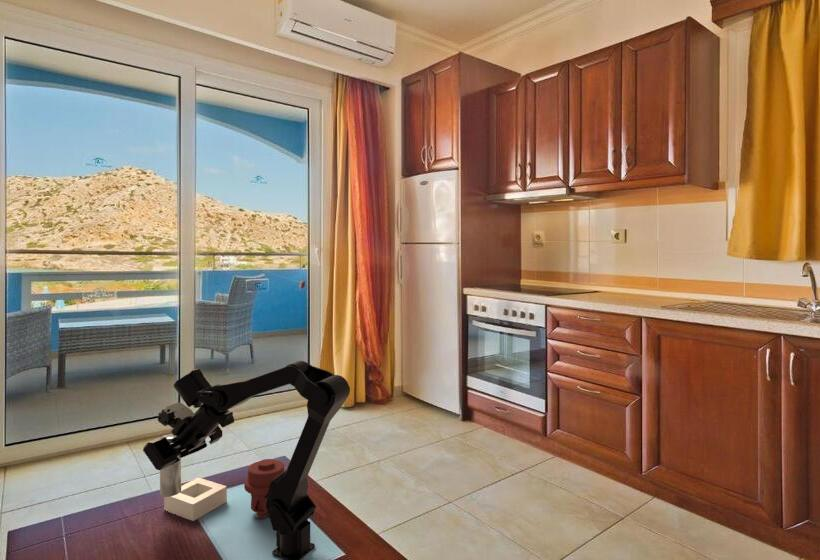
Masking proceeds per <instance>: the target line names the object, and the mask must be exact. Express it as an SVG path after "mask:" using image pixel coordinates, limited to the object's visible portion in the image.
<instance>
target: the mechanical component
mask: <svg viewBox="0 0 820 560" xmlns="http://www.w3.org/2000/svg"><path fill="white" fill-rule="evenodd" d="M283 472H285V463H283V462H282V461H281V460H278V459H271V458H265V459H261V460H258V461H255V462H254V463H251V464H250V465H249V466H248V468H247V477H246V478H245V480H244V482H243V483H244V484H243V485H244V487H243V488H244V490H245V491H246V492H247V493H248V494H250V496H251V498H250V500H251V501H250V509H251V510H252V512H255V513H256V514H257V515H256V516H257V517H256V518H257V519H259V520H262V519H265V517H267V516H269V515H268V511H267V509H266V508H265V503H266V500H267V498H264V496H265V495H267V493H268V491H269V486H270V483H271V481H272V480H274V479H275V478H276V477H278V476H279V475H280V474H282V473H283Z"/></svg>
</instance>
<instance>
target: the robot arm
mask: <svg viewBox="0 0 820 560" xmlns="http://www.w3.org/2000/svg"><path fill="white" fill-rule="evenodd" d="M288 385H291V386H293V388H294V389H295V390H296V391H297V393H298V394H299V395H300V396H301V397H302V398H304V399H305V400H307V402H306V410H307V418H306V421H305V423H304V426H303V428H302V430H301V433H300V436H299V438H298V440H297V443H296V445H295V448H294V451H293V453H292V455H291V458H290V461H289V463H288V466H287V468H286V469H285V470H284V472H283V473H282V474H280V475H279V476H278V477H276V478H275V479H274V480H272V481H271V483H270V486H269V491H268V493H267V495H265V496H264V498H267V500H266V503H265V508H266V509H267V511H268V515H267V516H268V518H269V520H270V525H271V528H272V530H273V531H275V532H276V535H275V536H276V537H275V539H276V542H275V545H276V548H274V549H273V550H272V551H271V553H272V556H276V557H278V558H281V559H283V560H302V559H303V558H304V557H305V556H307V554H309V553H310V552H311V551H312V550H313V549H314V548H315V547H316V544H315V543H313V542H311V521H309V519H310V518H311V517H312V516H314V514H315V512H316V509H317V505H316V504H315V502H314V501H313V500H312V499H311V497H310V496H309V494H308V490H309V482H308V476H309V473H310V471H311V469H312V466H313V464H314V461H315V459H316V457H317V454H318V452H319V449H320V447H321V445H322V442H323V439H324V437H325V434H326V432H327V429H328V428H329V424H330V422H331V421H332V420H333V418H334V417H335V415H336V414H337V413H338V412H339V411H340V409H341V408H342V406H343V405H344V404H345V402H346V400H347V399H348V398H349V395H350V394H351V393H350V392H351V386H350V385H349V383H348V380H346V378H344V376H342V375H340V374H334V373H332V372H330V371H328V370H327V369H323V368H320V367H317V366H313V365H312V364H310V363H308V362H306V361H304V360H298V361H295V362H292V363H288V364H287V365H285V366H284V367H281V368H278V369H276V370H275V369H274V370H273V371H270V372H267V373H264V374H261V375H258V376H255V377H251V378H250V377H243V378H235V379H234V378H233V379H231V380H228V381H226V382H223V383H219V384H215V385H213V386H212V385H211V384H210V382H209V380H207V379H206V377H205V376H204V374H203V372H202V371H201V369H200V368H195V369H192V370H191V371H190V372H189V373H187V374H185V375H184V376H182V377H181V378H180V379H177V380H176V381H175V382H174V384H173V388H174V389H175V391H176V392H177V393H178V395H179V396H180V398H181V399H182V400H183V402H184V403H185V404H184V403H182V402H175V403H172V404H169V405H167V406H165V408H163V409H162V410H161V411H160V412H158V417H157V421H158V423H159V424H161V425H162V426H164V427H167V426H169V427H171V428H172V429H171V431H170V433H171V434H173V435H174V436H175V435H176V436H177V437H175V438H172V439H171V441H172V442H173V443H172V444H170V443H169V442H168V440H167V439H166V437H162V436H160V437H157V438H154V439H151V440H150V441H148V442H147V443H146V444H145V445H144V446H143V449H142V452H143V453H144V454H145V455H146V457H147V459H149V461H150V463H151V465H152V466H153V467H154V468H155V470H157V471H160V470H162V469H164V468H166V467H168V466H170V465H172V464H174V463H176V462H178V461H180V460H179V458H178V456H180V455H181V459H182V458H185V457H187V456H190V455H192V454H195V453H197V452H200V451H202V450H203V449H205V448H207V447H208V444H210V445H213V444H215V443H217V442H218V441H220V440H221V438H222V437H223V429H222V428H225V427H227V426H230V425H231V424H234V423H235V418H234V412H232V411H230V410H231V409H233V408H235V407H237V406H240V405H242V404H244V403H246V402H247V401H250V400H251V399H253V398H254V397H255V396H257V395H260V394H262V393H266V392H269V391H272V390H276V389H278V388H281V387H284V386H288ZM192 406H193V407H194V408H198V409H197V410H196V411H195V412H194V411H193V410H192V409H191V407H192ZM220 427H221V428H220ZM207 438H209V439H210V440H209V441H208V444H207V441H206V439H207Z"/></svg>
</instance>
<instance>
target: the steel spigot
mask: <svg viewBox="0 0 820 560" xmlns="http://www.w3.org/2000/svg"><path fill="white" fill-rule="evenodd" d="M161 437H166V439H167V440H168V442H169V443H170V444H172V443H173V442H172V441H171V439H172V438H175V437H177V436H176V435H175V436H174V435H173V434H172V433H169V434H164V435H162V436H161ZM178 458H179V460H180V461H178V462H176V463H174V464H172V465H170V466H168V467H166V468H164V469H162V470H159V495H160V496H161V497H163V498H164V497H170V496H174V495H177V494H179V493H180V492H181V486H182V458H181V455H180V456H178Z"/></svg>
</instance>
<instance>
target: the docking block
mask: <svg viewBox="0 0 820 560" xmlns="http://www.w3.org/2000/svg"><path fill="white" fill-rule="evenodd" d="M227 494H228V486H227V485H224V484H220V483H218V482H217V483H216V482H214V481H212V480H211V481H210V480H208V479H204V478H202V477H197V478H195V479H192V480H191V481H189V482H186V483H184V484H183V485H182V484H181V492H180V493H179V494H177V495H174V496H170V497H163V499H164V500H163V501H164V503H163V504H164V505H163V506H164V508H163V509H164V511H165V510H166V511H165V512H167V511H168V512H167V513H170V514H173V515H175V514H176V515H175V516H178V517H181V518H183V519H187V520H188V521H193V522H194V521H196V520H197V519H199V518H201V517H202V516H204V515H207V514H208V513H209V512H212V511H214V510H215V509H217V508H219V507H221V506H222V505H224V504H225V503H227V502H228V500H227V499H228V498H227V497H228V495H227Z"/></svg>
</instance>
